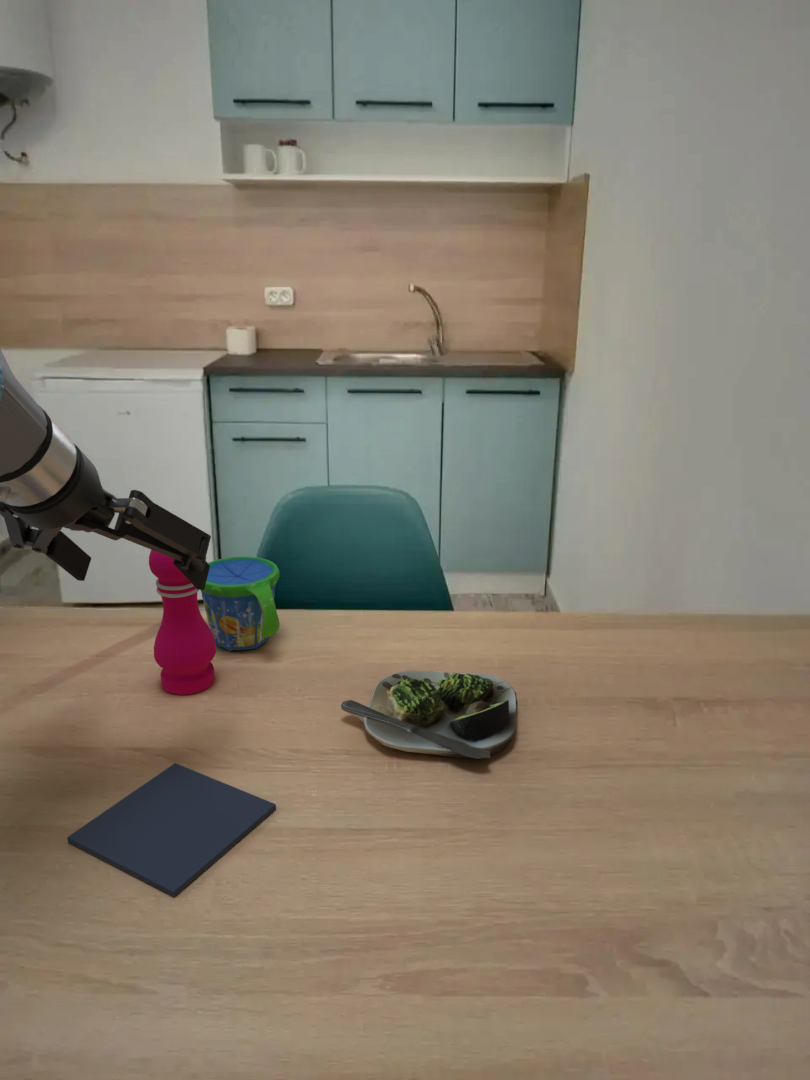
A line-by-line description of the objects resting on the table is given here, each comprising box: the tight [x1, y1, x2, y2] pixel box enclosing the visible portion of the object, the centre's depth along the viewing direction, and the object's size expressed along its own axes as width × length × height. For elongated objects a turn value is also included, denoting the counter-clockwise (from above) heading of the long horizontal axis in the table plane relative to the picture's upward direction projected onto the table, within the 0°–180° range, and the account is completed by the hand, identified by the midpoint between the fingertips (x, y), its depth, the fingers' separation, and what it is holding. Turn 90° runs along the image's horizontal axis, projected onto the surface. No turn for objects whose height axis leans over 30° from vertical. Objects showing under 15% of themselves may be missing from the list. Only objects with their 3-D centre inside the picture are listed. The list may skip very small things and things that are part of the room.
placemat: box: [66, 762, 277, 898], centre depth 75 cm, size 13×13×1 cm
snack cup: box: [200, 555, 281, 652], centre depth 109 cm, size 16×10×10 cm
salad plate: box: [340, 669, 519, 760], centre depth 91 cm, size 19×18×5 cm
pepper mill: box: [148, 549, 217, 696], centre depth 97 cm, size 7×7×20 cm
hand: (143, 573), depth 88 cm, fingers open, 13 cm apart
